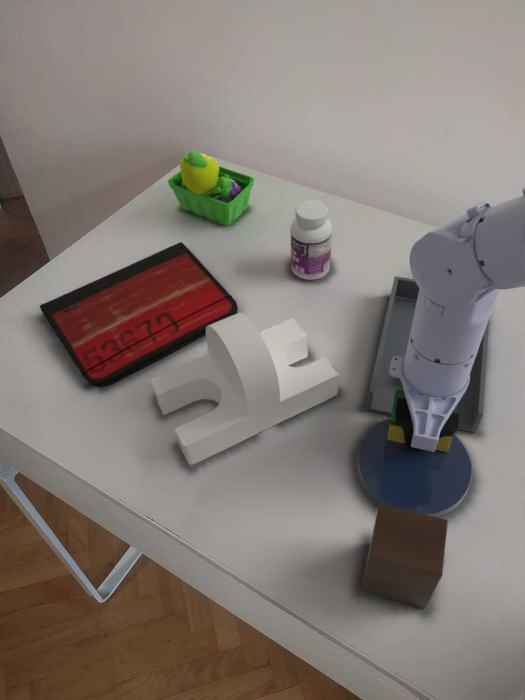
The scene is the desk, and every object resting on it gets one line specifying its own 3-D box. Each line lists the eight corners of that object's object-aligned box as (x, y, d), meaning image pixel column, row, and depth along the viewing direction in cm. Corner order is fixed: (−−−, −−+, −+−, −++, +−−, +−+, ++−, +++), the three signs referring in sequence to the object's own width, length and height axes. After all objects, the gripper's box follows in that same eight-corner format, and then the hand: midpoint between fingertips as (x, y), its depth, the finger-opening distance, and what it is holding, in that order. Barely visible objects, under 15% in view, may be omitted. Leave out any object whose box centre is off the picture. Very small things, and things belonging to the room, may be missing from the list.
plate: (465, 532, 53) (468, 527, 52) (347, 503, 56) (348, 497, 55) (472, 434, 60) (475, 428, 59) (367, 412, 62) (368, 406, 62)
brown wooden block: (425, 608, 49) (442, 574, 43) (361, 590, 50) (369, 555, 44) (431, 558, 52) (448, 519, 46) (370, 542, 53) (378, 502, 47)
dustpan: (475, 432, 60) (483, 414, 57) (366, 409, 63) (368, 391, 60) (487, 275, 76) (493, 255, 73) (399, 262, 78) (402, 242, 76)
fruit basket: (259, 206, 88) (254, 138, 80) (225, 238, 84) (216, 169, 75) (200, 186, 93) (190, 119, 84) (165, 215, 88) (150, 147, 80)
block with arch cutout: (293, 339, 70) (292, 270, 62) (337, 395, 64) (342, 327, 56) (155, 399, 65) (134, 333, 57) (189, 466, 59) (171, 403, 51)
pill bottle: (284, 262, 79) (282, 203, 72) (318, 251, 81) (319, 191, 73) (302, 286, 76) (302, 227, 69) (337, 273, 77) (341, 214, 70)
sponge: (447, 452, 57) (453, 433, 55) (386, 440, 59) (390, 420, 56) (450, 420, 60) (457, 400, 57) (392, 408, 61) (395, 388, 59)
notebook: (37, 303, 73) (180, 238, 80) (43, 315, 75) (183, 251, 82) (90, 386, 65) (244, 306, 72) (95, 398, 66) (245, 318, 74)
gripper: (407, 275, 54) (390, 367, 64) (383, 396, 45) (368, 480, 55) (485, 287, 52) (455, 379, 63) (476, 415, 44) (443, 497, 54)
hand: (419, 427), depth 59 cm, fingers closed on sponge, 4 cm apart
